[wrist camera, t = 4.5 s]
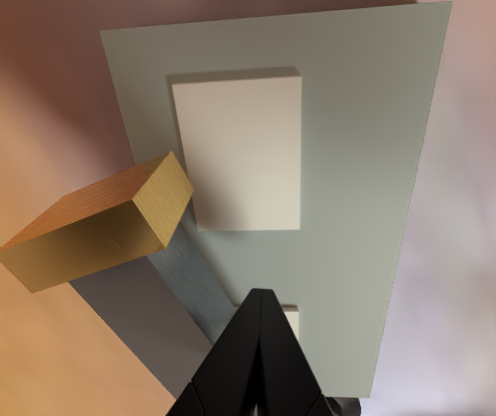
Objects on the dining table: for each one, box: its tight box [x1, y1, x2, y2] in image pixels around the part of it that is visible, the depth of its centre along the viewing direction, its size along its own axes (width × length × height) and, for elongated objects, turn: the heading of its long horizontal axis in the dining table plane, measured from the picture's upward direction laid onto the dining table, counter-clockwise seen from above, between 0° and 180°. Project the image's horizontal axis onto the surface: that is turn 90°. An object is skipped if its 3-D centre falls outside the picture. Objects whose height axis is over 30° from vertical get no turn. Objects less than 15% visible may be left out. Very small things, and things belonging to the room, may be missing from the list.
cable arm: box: [0, 150, 257, 416], centre depth 11 cm, size 18×4×3 cm, turn 24°
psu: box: [99, 1, 452, 398], centre depth 12 cm, size 15×8×2 cm, turn 4°
